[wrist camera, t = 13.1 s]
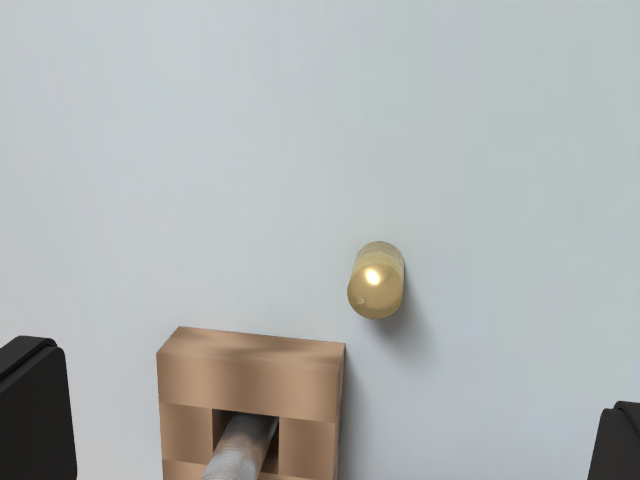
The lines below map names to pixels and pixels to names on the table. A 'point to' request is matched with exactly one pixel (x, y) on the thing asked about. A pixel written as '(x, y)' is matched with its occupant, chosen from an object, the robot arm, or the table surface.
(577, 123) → the table surface
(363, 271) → the short pin
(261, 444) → the long pin
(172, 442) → the socket block
